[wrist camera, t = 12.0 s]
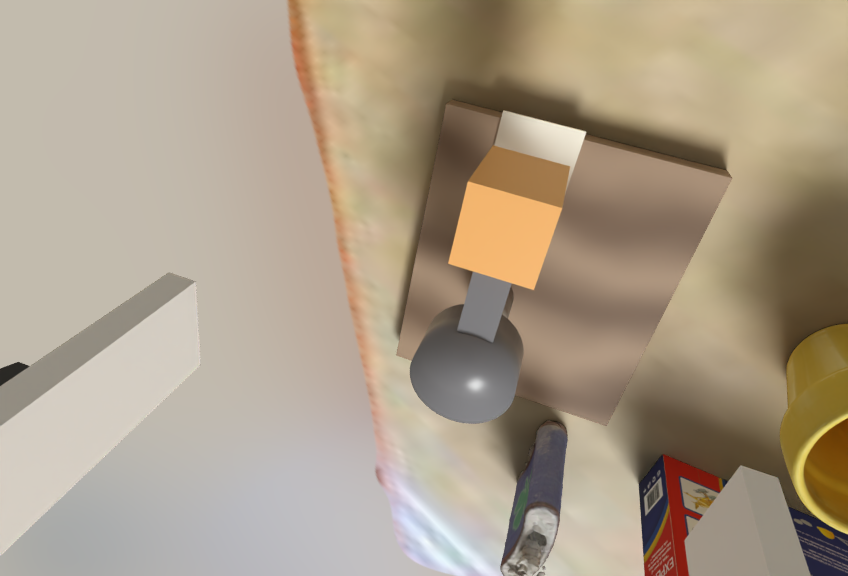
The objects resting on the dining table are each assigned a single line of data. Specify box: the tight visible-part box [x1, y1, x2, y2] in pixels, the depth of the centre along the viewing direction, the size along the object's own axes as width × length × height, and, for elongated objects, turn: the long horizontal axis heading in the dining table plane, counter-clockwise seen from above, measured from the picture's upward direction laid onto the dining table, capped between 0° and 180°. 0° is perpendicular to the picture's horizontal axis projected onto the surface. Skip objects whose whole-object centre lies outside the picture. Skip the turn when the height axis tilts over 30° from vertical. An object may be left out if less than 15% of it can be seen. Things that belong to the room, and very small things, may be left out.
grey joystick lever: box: [410, 145, 570, 424], centre depth 29 cm, size 15×6×6 cm, turn 169°
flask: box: [500, 420, 568, 576], centre depth 42 cm, size 9×3×11 cm, turn 169°
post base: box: [396, 100, 732, 426], centre depth 35 cm, size 20×17×8 cm
